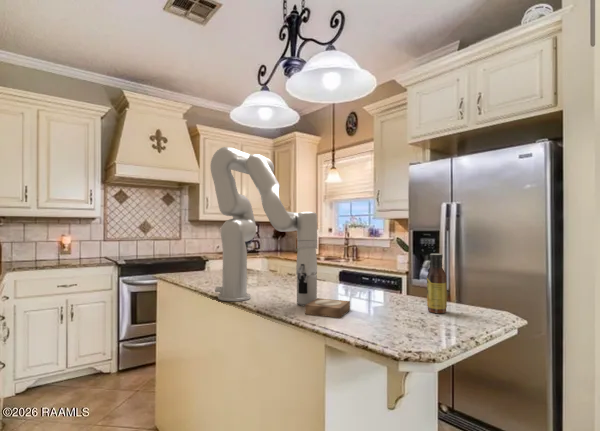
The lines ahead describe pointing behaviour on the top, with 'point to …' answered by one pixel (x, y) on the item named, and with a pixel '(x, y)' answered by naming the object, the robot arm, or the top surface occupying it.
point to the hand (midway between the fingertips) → (307, 291)
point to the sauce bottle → (436, 286)
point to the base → (327, 307)
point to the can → (308, 290)
